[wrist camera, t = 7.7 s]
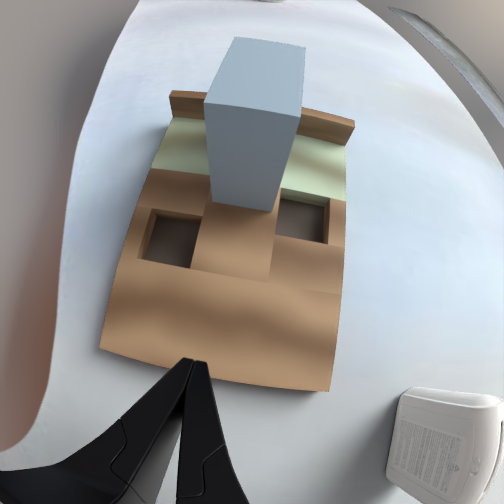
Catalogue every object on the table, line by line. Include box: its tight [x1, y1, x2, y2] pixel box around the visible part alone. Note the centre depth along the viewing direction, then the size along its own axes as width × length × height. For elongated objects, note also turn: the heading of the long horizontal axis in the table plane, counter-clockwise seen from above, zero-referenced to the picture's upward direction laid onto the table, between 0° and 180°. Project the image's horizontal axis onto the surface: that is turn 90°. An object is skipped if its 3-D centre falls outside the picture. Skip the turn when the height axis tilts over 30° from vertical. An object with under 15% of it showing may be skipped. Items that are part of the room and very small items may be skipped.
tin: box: [203, 37, 306, 212], centre depth 19 cm, size 8×5×11 cm, turn 171°
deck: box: [99, 90, 355, 392], centre depth 22 cm, size 24×18×5 cm
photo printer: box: [386, 387, 504, 504], centre depth 14 cm, size 10×4×12 cm, turn 175°
